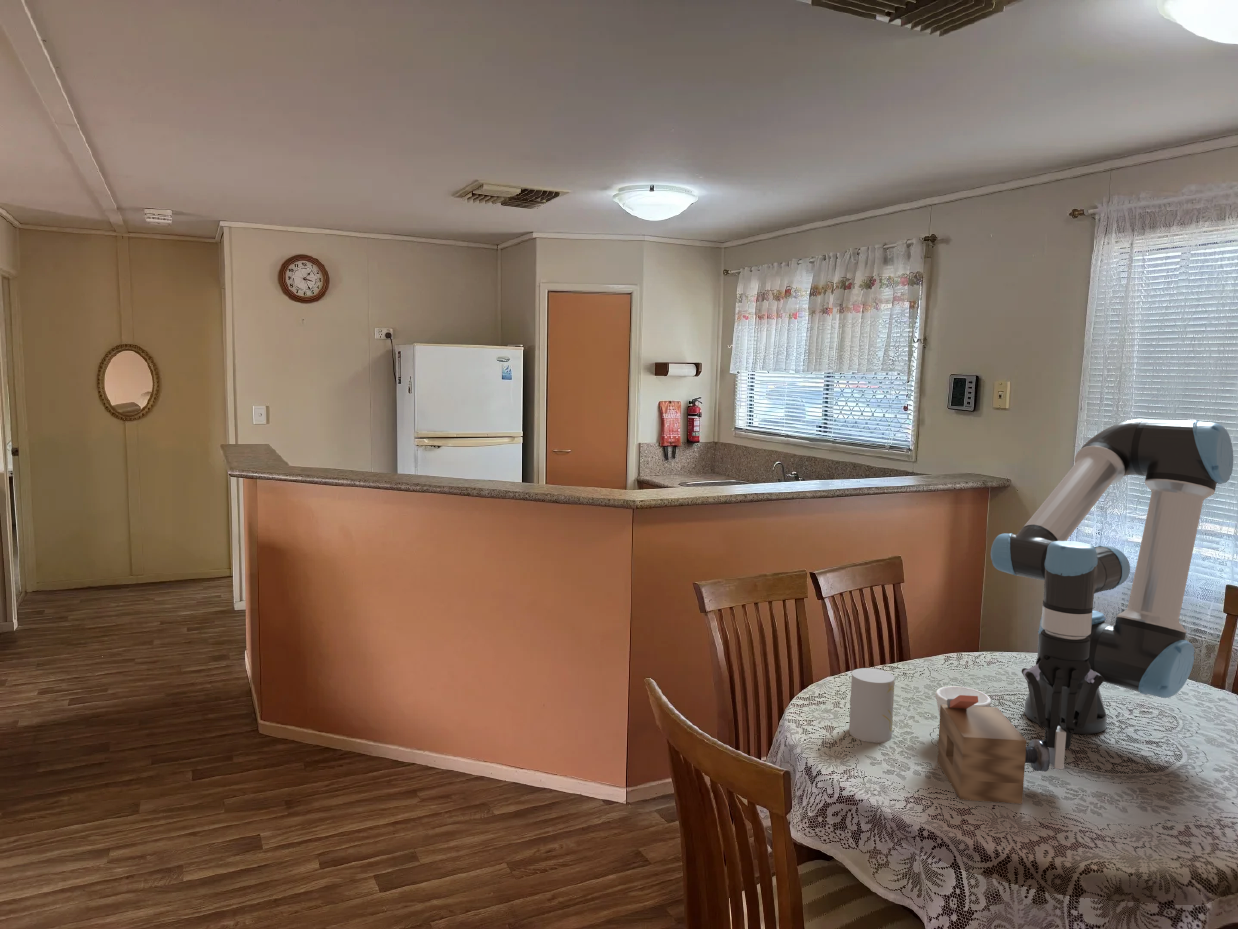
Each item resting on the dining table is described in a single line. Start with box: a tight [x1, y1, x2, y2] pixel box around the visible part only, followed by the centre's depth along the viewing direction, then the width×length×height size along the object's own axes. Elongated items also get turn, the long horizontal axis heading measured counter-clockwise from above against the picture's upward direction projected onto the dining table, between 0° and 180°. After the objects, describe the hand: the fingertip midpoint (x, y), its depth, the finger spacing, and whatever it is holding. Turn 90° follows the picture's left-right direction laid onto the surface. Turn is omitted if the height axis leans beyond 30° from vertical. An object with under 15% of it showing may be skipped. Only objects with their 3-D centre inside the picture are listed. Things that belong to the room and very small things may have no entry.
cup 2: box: [935, 685, 992, 717], centre depth 162 cm, size 10×10×9 cm
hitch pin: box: [1025, 738, 1051, 772], centre depth 145 cm, size 15×5×5 cm, turn 84°
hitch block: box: [936, 704, 1027, 805], centre depth 146 cm, size 10×14×11 cm
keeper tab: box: [947, 695, 978, 709], centre depth 148 cm, size 3×8×2 cm
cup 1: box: [848, 667, 896, 744], centre depth 165 cm, size 8×8×12 cm
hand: (1055, 765), depth 144 cm, fingers closed
